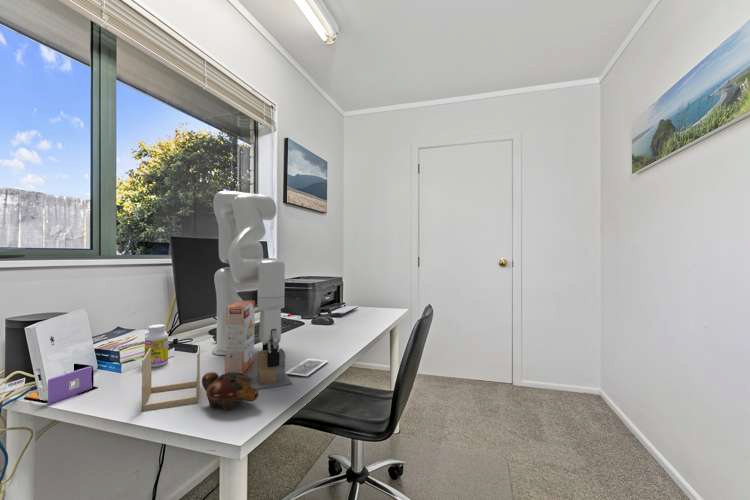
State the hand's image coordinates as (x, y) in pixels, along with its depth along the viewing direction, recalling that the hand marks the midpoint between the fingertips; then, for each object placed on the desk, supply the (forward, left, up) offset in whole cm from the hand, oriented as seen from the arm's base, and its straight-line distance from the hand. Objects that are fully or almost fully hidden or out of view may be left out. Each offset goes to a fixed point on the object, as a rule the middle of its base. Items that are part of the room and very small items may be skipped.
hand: (270, 361), depth 100 cm
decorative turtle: (+13, -12, -6) cm, 18 cm away
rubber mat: (0, 0, -6) cm, 6 cm away
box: (0, 0, -5) cm, 5 cm away
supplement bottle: (-31, -32, -6) cm, 45 cm away
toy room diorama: (-13, -51, -6) cm, 53 cm away
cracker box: (-16, -7, -6) cm, 18 cm away
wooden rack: (+1, -24, -6) cm, 25 cm away
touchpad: (-6, +12, -6) cm, 15 cm away
